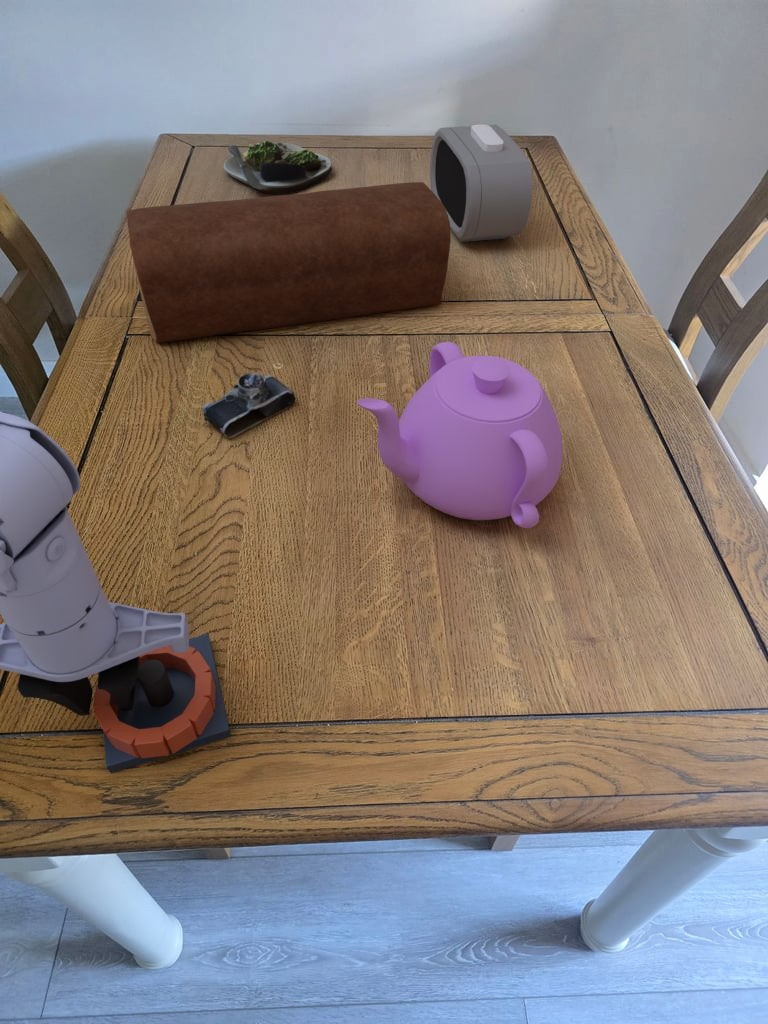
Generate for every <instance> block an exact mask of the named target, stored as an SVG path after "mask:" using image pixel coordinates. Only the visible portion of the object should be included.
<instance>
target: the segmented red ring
mask: <svg viewBox="0 0 768 1024" xmlns="http://www.w3.org/2000/svg"><path fill="white" fill-rule="evenodd" d="M148 660H158V661H160V662H162V663H163V665H164V667H165V669H167V668H174V669H177V670H179V671H182V672H184V673H187V674H189V675H191V677H192V678H193V680H194V681H195V695H194V697H193V698H192V700H191V701H190V703H189V704H188V706H187V707H186V709H185V711H184V712H183V714H181V715H180V716H178V717H177V718H175V719H173V720H172V721H170V722H168V723H167V724H165V725H164V726H162V727H155V728H146V729H137V728H134V727H132V726H130V725H128V724H125V723H123V722H121V721H119V720H118V718H117V717H118V709H119V707H118V705H117V703H116V701H115V699H114V698H113V696H112V695H111V694H110V693H108V692H107V691H105V690H101V689H98V687H97V684H98V683H96V685H95V689H94V690H95V691H94V698H93V706H92V709H93V714H94V716H95V718H96V720H97V721H98V723H99V725H100V727H101V729H102V731H103V730H104V732H105V734H106V736H107V737H108V739H109V741H110V742H111V744H112V745H114V747H115V748H116V749H118V750H121V751H123V752H125V753H127V754H130V755H132V756H134V757H136V758H138V757H139V755H140V756H141V758H150V757H158V756H165V757H168V756H167V755H169V749H170V750H171V751H172V753H175V752H177V751H178V750H180V749H181V748H183V747H185V746H186V745H188V744H189V743H191V742H192V741H194V740H196V739H197V737H196V734H197V735H201V733H202V732H203V730H204V729H205V727H206V725H207V724H208V722H209V720H210V719H211V717H212V716H213V714H214V712H213V710H215V695H216V686H215V683H214V680H213V676H212V673H211V670H210V667H209V666H208V664H207V663H206V662H205V660H204V659H203V657H202V656H201V654H200V653H199V652H198V651H197V652H196V649H195V648H192V647H190V646H189V650H188V652H182V653H174V652H173V651H172V648H171V647H170V646H165V647H162V648H159V649H156V650H153V651H151V652H148V653H146V654H143V655H141V656H140V659H139V667H140V666H141V665H142V664H143V663H144V662H146V661H148ZM137 678H138V677H137ZM175 754H176V753H175ZM169 756H170V755H169Z"/></svg>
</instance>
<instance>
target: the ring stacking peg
mask: <svg viewBox="0 0 768 1024" xmlns="http://www.w3.org/2000/svg"><path fill="white" fill-rule="evenodd" d="M189 646H190V647H192V648H195V649H196V652H197V651H198V652H199V653H200V654H201V656H202V657H203V659H204V660H205V662H206V663H207V664H208V666H209V667H210V670H211V673H212V676H213V680H214V683H215V686H216V695H215V710H213V712H214V714H213V716H212V717H211V719H210V720H209V722H208V724H207V725H206V727H205V729H204V730H203V732H202V733H201V735H197V734H196V737H197V739H196V740H194V741H192V742H191V743H189V744H188V745H186V746H185V747H183V748H181V749H180V750H178V751H177V752H175V753H172V751H171V750H170V749H169V755H167V756H158V757H150V758H141V756H140V755H139V757H138V758H136V757H134V756H132V755H130V754H127V753H125V752H123V751H121V750H118V749H116V748H115V747H114V745H112V744H111V742H110V741H109V739H108V737H107V736H106V734H105V732H104V730H103V729H102V735H103V745H104V746H103V747H104V756H105V767H106V769H107V770H108V772H109V774H112V773H116V772H119V771H123V770H126V769H129V768H132V767H136V766H138V765H139V766H140V765H142V764H146V763H149V762H152V761H155V760H158V759H162V758H166V757H169V756H171V755H175V754H178V753H181V752H184V751H187V750H188V751H189V750H191V749H195V748H198V747H201V746H204V745H209V744H211V743H214V742H217V741H221V740H224V739H227V738H230V737H232V734H231V730H230V725H229V721H228V715H227V710H226V707H225V706H226V705H225V701H224V697H223V693H222V688H221V683H220V678H219V674H218V669H217V664H216V659H215V655H214V651H213V647H212V646H213V645H212V642H211V638H210V635H209V633H206V634H202V635H199V636H195V637H191V638H189ZM137 677H138V678H137V680H136V683H135V685H134V686H135V692H134V701H133V709H132V710H131V711H122V710H120V709H118V717H117V718H118V720H119V721H121V722H123V723H125V724H128V725H130V726H132V727H134V728H137V729H146V728H155V727H162V726H164V725H165V724H167V723H168V722H170V721H172V720H173V719H175V718H177V717H178V716H180V715H181V714H183V712H184V711H185V709H186V707H187V706H188V704H189V703H190V701H191V700H192V698H193V697H194V695H195V681H194V680H193V678H192V677H191V675H189V674H187V673H184V672H182V671H179V670H177V669H174V668H167V669H165V667H164V665H163V663H162V662H160V661H158V660H148V661H146V662H144V663H143V664H142V665H141V666H140V667H139V669H138V676H137ZM98 678H99V672H98V673H97V679H98Z"/></svg>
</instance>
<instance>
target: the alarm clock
mask: <svg viewBox="0 0 768 1024" xmlns="http://www.w3.org/2000/svg"><path fill="white" fill-rule="evenodd" d="M429 162H430V163H429V181H430V190H431V191H432V192H433V193H434V194H435V195H436V196H437V198H438V199H439V200H440V201H441V203H442V204H443V205H444V207H445V208H446V211H447V215H448V218H449V221H450V230H451V231H452V232H453V233H454V234H455V236H456V237H457V239H458V240H459V242H460V243H464V242H465V243H467V242H475V241H478V242H479V241H489V240H490V241H491V240H500V239H501V240H502V239H507V237H509V236H518V235H521V234H522V233H523V232H524V230H525V229H526V226H527V224H528V221H529V217H530V213H531V207H532V201H533V189H534V182H533V181H534V180H533V172H532V171H533V170H532V166H531V162H530V160H529V158H528V156H527V155H526V154H525V152H524V150H522V148H521V147H520V146H519V145H518V144H517V143H516V142H515V141H514V140H513V139H512V138H511V137H510V135H509V134H508V133H507V132H506V131H505V130H504V129H503V128H502V127H500V126H499V125H497V124H473V125H466V126H465V125H464V126H449V127H447V126H446V127H440V128H438V129H437V131H436V132H435V133H434V136H433V139H432V144H431V151H430V161H429Z"/></svg>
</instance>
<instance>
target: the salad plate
mask: <svg viewBox="0 0 768 1024" xmlns="http://www.w3.org/2000/svg"><path fill="white" fill-rule="evenodd" d="M247 145H248V149H247V151H244V152H243V151H241V150H240V149H239V147H238V145H235V144H234V145H229V146H228V148H227V151H228V153H229V154H230V157H228V158H227V159H226V160H225V161H224V163H223V169H224V171H225V172H226V173H227V174H228V175H230V176H231V177H232V178H234V179H236V180H238V181H240V182H242V183H244V184H245V185H248V186H249V187H251V188H252V189H254V190H255V191H258V192H261V193H263V194H267V195H273V196H279V195H292V194H296V193H298V192H301V191H304V190H307V189H310V188H313V187H315V186H317V185H318V184H320V183H322V182H324V181H325V179H326V178H327V177H328V175H330V174H331V172H332V169H333V166H332V161H331V159H330V158H329V157H327V156H326V155H322V154H319V153H316V152H313V151H311V150H308V149H306V148H304V147H301V146H299V145H296V144H293V143H290V142H272V141H269V140H263V142H261V143H259V142H258V143H256V144H252V142H248V143H247Z"/></svg>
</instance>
